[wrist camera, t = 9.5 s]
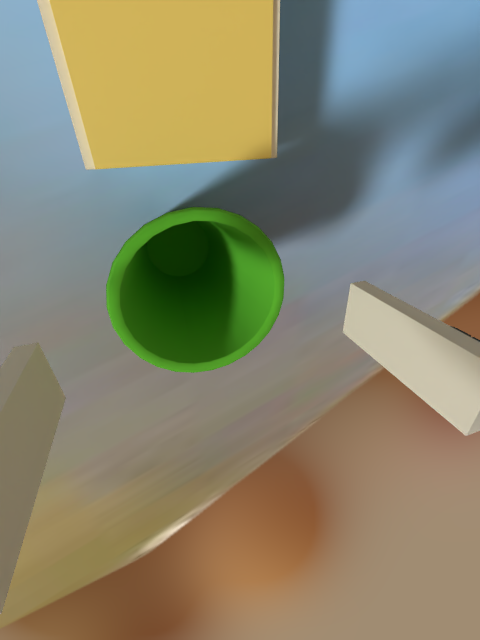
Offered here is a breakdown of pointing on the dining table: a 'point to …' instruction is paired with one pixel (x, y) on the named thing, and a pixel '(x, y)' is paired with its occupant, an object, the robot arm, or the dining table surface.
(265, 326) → the cup
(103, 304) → the dining table surface
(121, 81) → the box
